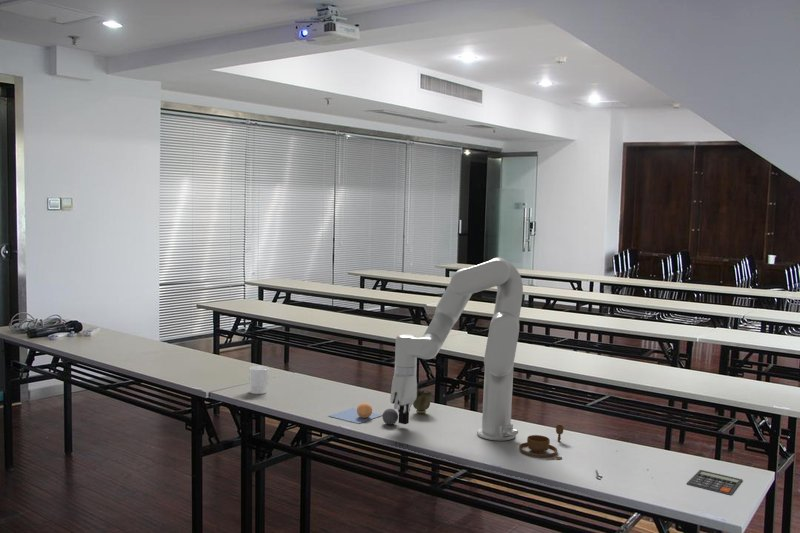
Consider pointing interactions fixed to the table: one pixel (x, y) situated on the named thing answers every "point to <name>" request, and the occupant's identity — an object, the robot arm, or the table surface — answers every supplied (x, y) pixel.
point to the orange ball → (364, 410)
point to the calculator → (714, 482)
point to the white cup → (258, 379)
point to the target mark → (353, 416)
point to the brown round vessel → (422, 401)
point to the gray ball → (390, 416)
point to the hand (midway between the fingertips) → (403, 423)
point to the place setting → (541, 445)
